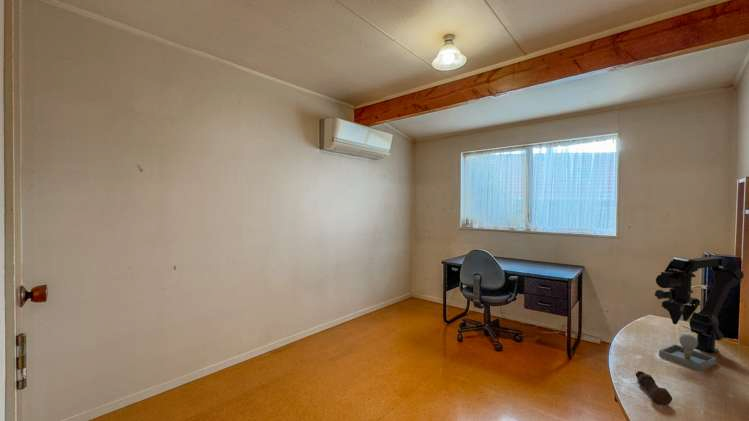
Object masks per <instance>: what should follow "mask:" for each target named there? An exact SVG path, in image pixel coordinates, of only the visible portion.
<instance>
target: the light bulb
mask: <svg viewBox="0 0 749 421" xmlns="http://www.w3.org/2000/svg"><path fill="white" fill-rule="evenodd" d="M678 340H679V344H680V346H682V347H683V348H684V357H685V358H687V359H689V358H691V354H692V350H695V349H697V348H696V347H697V345H698V342H697V337H695V336H693V335H691V334H687V333H685V334H681V335H680V336H679V338H678Z"/></svg>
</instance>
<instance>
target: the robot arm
mask: <svg viewBox="0 0 749 421" xmlns="http://www.w3.org/2000/svg"><path fill="white" fill-rule="evenodd" d="M668 263H669V264H667V266H666V268H665V270H664V271H661V273H660V274H658V275H657V277H655V283H656V284H657V286H659V287H660V288H661V289H656V290H655V292H654V296H655V297H656V298H657V300H662V299H667V300H664V301H662V302H661V307H662V308H663V309H665V310H666V311H668V313H669V316H670V318H671V321H672V324H673V325H677V324H678V323H679V321H680V319H681V317H682V320H683V321H685V322H687V321H688V320H689V328H690V331H691V332H692V333H695V334H696V340H697V342H698V345H697V347H696V348H695V349H697V350H701V351H704V352H706V353H710V354H714V353H716V352H719V349H718V348H716V341H721V340H722V339H723V337H724V334H723V332H722V331H721V330H720V329H719V326H720V323H719V320H718V315H719V313H720V311H721V309H722V307H723V305H724V303H725V301H726V299H727V297H728V295H729V293H730V291H731V289H732V288H733V287H735V286H737V285H739V284H740V283H741V281H742V280H743V279H744V276H745V273H744V272H743V270H742V269H741V268H740V267H739V266H738V265H736V264H734V263H732V262H731V261H729V260H728V259H727V258H726V257H722V256H718V255H717V256H715V255H712V256H711V255H710V256H706V257H695V258H687V257H686V258H685V257H679V256H677V257H676V256H675V257H673V258H672V259H671V260H670V262H668ZM706 268H707V269H708V268H709V269H710V270H711V272H713V274H712V277H713V280H714V284H713V285H712V288H711V290H710V292H709V295H708V297H707V299H706V301H705V302H704V305H703V307H702V309H701V310H700V311H699V312H696V310H697V309H698V308H699V306H701V301H700V299H699V298H697V297H692V294H693V293H694V290H692V281H693V279H692V278H696V277H697V276H696V274H694V273H695V272H696V273H697V272H698V271H699V269H706ZM662 289H669V290H662Z"/></svg>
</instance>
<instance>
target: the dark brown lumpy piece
mask: <svg viewBox="0 0 749 421" xmlns="http://www.w3.org/2000/svg"><path fill="white" fill-rule="evenodd" d="M635 377H636V378H637V381H638V383H639V385H640V386H641V387H643V388H646V390H648V392H649V393H648V394H649V396H650V398H651V400H652V402H654V403H655V404H656V405H661V406H668V405H670V404H671V402H672V401H673V398H672V395H671V394H670V392H669V390H668V389H667V388H665V387H661V386H660V387H659V386H658V384H657V383H656V381H655V379H654V378H653V376H652V375H650V374H648V373H646V372H644V371H642V370H638V371H637V372H636V373H635Z"/></svg>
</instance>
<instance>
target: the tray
mask: <svg viewBox="0 0 749 421" xmlns="http://www.w3.org/2000/svg"><path fill="white" fill-rule="evenodd" d="M658 356H659V357H661V358H663V359H666V360H669V361H672V362H674V363H677V364H680V365H683V366H685V367H688V368H691V369H693V370H696V371H699V372H703V371H704V370H707V369H709V368H711V367H713V366H715V365H716V364H717V357H714V356H712V355H709V354H705V353H703V352H699V351H697V350H695V349H693V350H692V354H691V358H689V359H687V358H685V357H684V348H683V347H682V345H679V344H675V343H674V344H672V345H669V346H667V347H664V348H661V349H659V350H658Z"/></svg>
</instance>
